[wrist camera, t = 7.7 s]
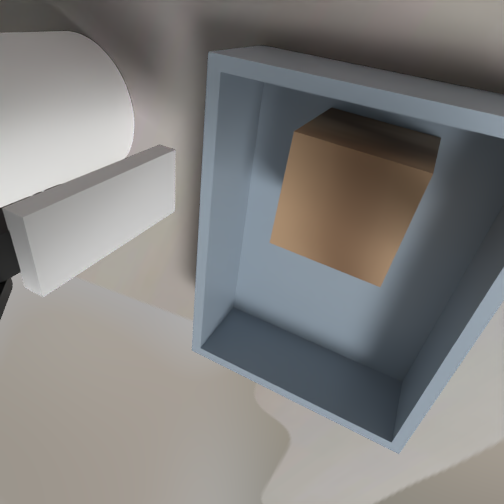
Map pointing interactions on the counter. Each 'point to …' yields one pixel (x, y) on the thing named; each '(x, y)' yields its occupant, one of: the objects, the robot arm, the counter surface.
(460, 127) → the tote
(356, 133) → the walnut cube
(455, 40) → the counter surface
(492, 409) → the counter surface
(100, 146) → the container
